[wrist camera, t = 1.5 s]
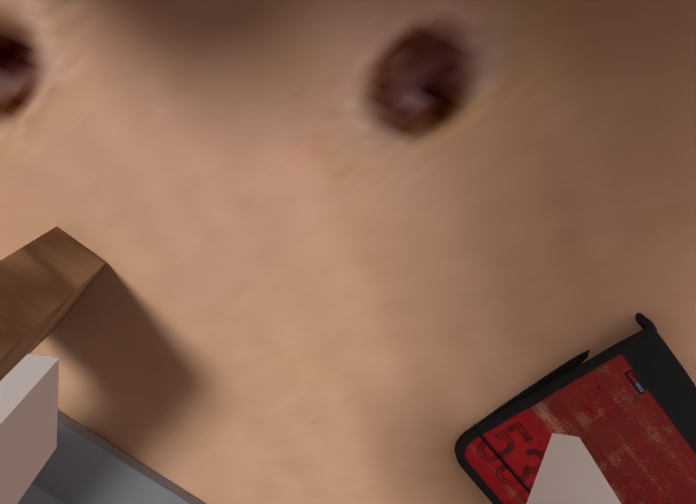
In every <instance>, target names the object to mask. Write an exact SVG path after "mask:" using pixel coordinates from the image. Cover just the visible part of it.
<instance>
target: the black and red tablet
mask: <svg viewBox="0 0 696 504" xmlns="http://www.w3.org/2000/svg"><path fill="white" fill-rule="evenodd" d="M635 318H636V321H637V323H638V324H639V325H641V327H642V329H643V330H641V331H639V332H638V333H636V334H634V335H632V336H630V337H628V338H626V339H624V340H622V341H620V342H619V343H617V344H615V345H613V346H612V347H610V348H608V349H607V350H605V351H603V352H601V353H600V354H598V355H596V356H595V357H593V358H592V359H590V360H588V361H586V362H584V363H583V364H581V363H582V362H583V361H584V360H585V359H586V358H587V357H588V353H589V351H590V350H587V351H586V352H584V353H582V354H580V355H578V356H576V357H574V358H573V359H571V360H570V361H568V362H566V363H565V364H563V365H562V366H560V367H559V368H557V369H556V370H554V371H552V372H551V373H549V374H548V375H547V376H545V377H544V378H542V379H541V380H539V381H538V382H536V383H535V384H533V385H532V386H530V387H529V388H527V389H526V390H524V391H523V392H521V393H520V394H518V395H517V396H515V397H514V398H512V399H511V400H509V401H508V402H506V403H505V404H504V405H502V406H501V407H499V408H498V409H496V410H495V411H494V412H492V413H491V414H490V415H488V416H487V417H485V418H484V419H483V420H481V421H480V422H479V423H477V424H474V425H473V427H471V428H470V429H468V430H467V431H466V432H464V433H463V434H462V435H461V436H460V437H459V439H458V440H457V442H456V445H455V453H456V457H457V460H458V462H459V464H460V466H461V467H462V468H463V469H464V471H465V472H466V473H467V474H468V475H469V476H470V478H471V479H472V480H473V481H474V482H475V483H476V484H477V486H478V487H479V488H480V489H481V490H482V491H483V493H484V494H485V495H486V496H487V497H488V498H489V500H490V501H491V502H492V503H493V504H526V503H527V501H528V498H529V495H530V493H531V490H532V487H533V485H534V482H535V479H536V476H537V474H538V471H539V468H540V466H541V463H542V460H543V457H544V455H545V452H546V449H547V447H548V444H549V441H550V439H551V436H552V433H556V434H562V435H569V436H575V437H579V438H580V439H581V441H582V442H583V444H584V445H585V447H586V449H587V450H588V452H589V453H590V455H591V457H592V458H593V460H594V461H595V463H596V465H597V466H598V468H599V469H600V471H601V472H602V474H603V476H604V477H605V479H606V480H607V482H608V484H609V485H610V487H611V488H612V490H613V491H614V493H615V495H616V496H617V498H618V499H619V501H620V503H621V504H696V386H695V385H694V383H693V382H692V380H691V379H690V377H689V376H688V374H687V373H686V371H685V370H684V368H683V367H682V366H681V364H680V363H679V361H678V360H677V359H676V357H675V356H674V354H673V353H672V352H671V350H670V349H669V347H668V346H667V345H666V343H665V342H664V341H663V339H662V338H661V337H660V336H659V334H658V333H657V329H656V328H655V326H654V324H653V323H652V322H651V321H650V320H649V319H648V318H646V317H645V316H644V315H642V314H641V313H638V314H636V316H635ZM580 364H581V365H580Z"/></svg>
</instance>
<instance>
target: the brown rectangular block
mask: <svg viewBox="0 0 696 504" xmlns="http://www.w3.org/2000/svg"><path fill="white" fill-rule="evenodd" d="M105 264H106V261H104V260H103V259H101V258H100V257H99V256H97V255H96V254H94V253H93V252H92V251H90V250H89V249H87V248H86V247H85V246H83V245H82V244H80V243H79V242H78V241H76V240H75V239H73V238H72V237H71V236H69V235H68V234H66V233H65V232H64V231H62V230H61V229H59V228H58V227H55V228H53V229H52V230H50V231H48V232H47V233H45V234H44V235H42V236H40V237H39V238H37V239H35V240H34V241H32V242H30V243H29V244H27V245H26V246H24V247H22V248H21V249H19V250H17V251H16V252H14V253H12V254H11V255H9V256H7V257H6V258H4V259H3V260H1V261H0V381H1V380H2V379H3V378H4V377H5V376H6V375H7V374H8V373H9V372H10V371H11V370H12V369H13V368H14V367H15V366H16V365H17V364H18V363H19V362H20V361H21V360H22V359H23V358H24V357H25V356H26V355H27V354H29V353H31V352H32V351H33V350H34V349H35V348H36V347H37V346H38V345H39V344H40V343H41V342H42V341H43V340H44V339H45V338H46V337H47V336H48V335H49V334H50V333H51V332H52V331H53V330H54V329H55V328H56V327H57V326H58V324H59V323H60V322H61V321H62V319H63V318H64V317H65V315H66V314H67V313H68V311H69V310H70V309H71V308H72V306H73V305H74V304H75V302H76V301H77V300H78V299H79V297H80V296H81V295H82V293H83V292H84V291H85V290H86V288H87V287H88V286H89V284H90V283H91V282H92V280H93V279H94V278H95V277H96V275H97V274H98V273H99V271H100V270H101V269H102V268H103V266H104V265H105Z"/></svg>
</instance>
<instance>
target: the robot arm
mask: <svg viewBox="0 0 696 504" xmlns="http://www.w3.org/2000/svg"><path fill="white" fill-rule="evenodd" d="M58 378H59V358H52V357H46V356H39V355H33V354H27V355H26V356H25V357H24V358H23V359H22V360H21V361H20V362H19V363H18V364H17V365H16V366H15V367H14V368H13V369H12V370H11V371H10V372H9V373H8V374H7V375H6V376H5V377H4V378H3V379H2V380H1V381H0V504H17V503H18V502H19V500H20V499H21V498H22V496H23V495H24V493H25V492H26V490H27V489H28V488H29V486H30V485H31V483H32V482H33V480H34V479H35V478H36V476H37V475H38V473H39V472H40V470H41V469H42V467H43V466H44V465H45V463H46V462H47V460H48V459H49V457H50V456H51V455H52V453H53V452H54V450H55V449H56V447H57V414H58ZM526 504H621V503H620V501H619V499H618V498H617V496H616V495H615V493H614V491H613V490H612V488H611V487H610V485H609V484H608V482H607V480H606V479H605V477H604V476H603V474H602V472H601V471H600V469H599V468H598V466H597V465H596V463H595V461H594V460H593V458H592V457H591V455H590V453H589V452H588V450H587V449H586V447H585V445H584V444H583V442H582V441H581V439H580V438H579V437H575V436H569V435H562V434H556V433H552V436H551V439H550V441H549V444H548V447H547V449H546V452H545V455H544V457H543V460H542V463H541V466H540V468H539V471H538V474H537V476H536V479H535V482H534V485H533V487H532V490H531V493H530V495H529V498H528V501H527V503H526Z"/></svg>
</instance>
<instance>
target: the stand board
mask: <svg viewBox="0 0 696 504" xmlns="http://www.w3.org/2000/svg"><path fill="white" fill-rule="evenodd" d="M17 504H205V503H204V502H202V501H201V500H199V499H197V498H196V497H194V496H193V495H191V494H189V493H188V492H186V491H185V490H183V489H181V488H180V487H178V486H177V485H175V484H174V483H172V482H170V481H169V480H167V479H166V478H164V477H162V476H161V475H159V474H158V473H156V472H155V471H153V470H151V469H150V468H148V467H147V466H145V465H143V464H142V463H140V462H139V461H137V460H136V459H134V458H132V457H131V456H129V455H128V454H126V453H124V452H123V451H121V450H120V449H118V448H116V447H115V446H113V445H112V444H110V443H109V442H107V441H105V440H104V439H102V438H101V437H99V436H97V435H96V434H94V433H93V432H91V431H90V430H88V429H86V428H85V427H83V426H82V425H80V424H78V423H77V422H75V421H74V420H72V419H71V418H69V417H67V416H66V415H64V414H63V413H61V412H59V411H58V414H57V447H56V449H55V450H54V452H53V453H52V455H51V456H50V457H49V459H48V460H47V462H46V463H45V465H44V466H43V467H42V469H41V470H40V472H39V473H38V475H37V476H36V478H35V479H34V480H33V482H32V483H31V485H30V486H29V488H28V489H27V490H26V492H25V493H24V495H23V496H22V498H21V499H20V500H19V502H18V503H17Z"/></svg>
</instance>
